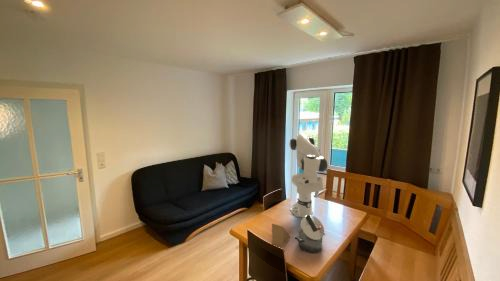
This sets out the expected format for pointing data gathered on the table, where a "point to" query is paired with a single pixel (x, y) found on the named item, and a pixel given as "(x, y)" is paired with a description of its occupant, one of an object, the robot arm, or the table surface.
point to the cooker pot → (308, 243)
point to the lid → (312, 227)
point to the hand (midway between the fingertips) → (310, 198)
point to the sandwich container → (279, 235)
